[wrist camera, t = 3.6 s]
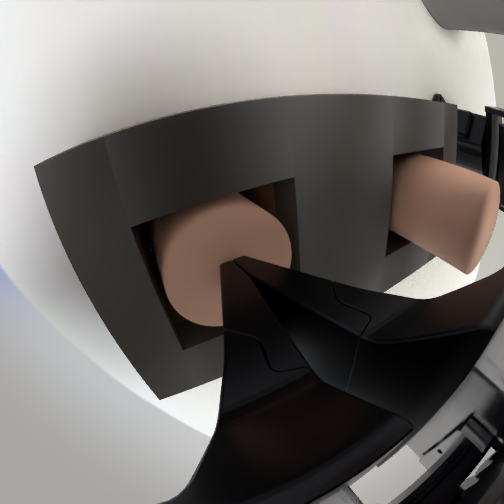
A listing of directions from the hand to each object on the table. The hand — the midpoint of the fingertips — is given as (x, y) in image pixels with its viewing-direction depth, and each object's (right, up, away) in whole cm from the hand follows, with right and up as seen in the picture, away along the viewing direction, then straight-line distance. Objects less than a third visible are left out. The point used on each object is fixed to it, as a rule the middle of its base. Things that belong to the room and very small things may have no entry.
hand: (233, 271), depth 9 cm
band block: (+2, +5, +7) cm, 9 cm away
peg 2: (+8, +5, +5) cm, 10 cm away
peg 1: (-3, +3, +6) cm, 7 cm away
